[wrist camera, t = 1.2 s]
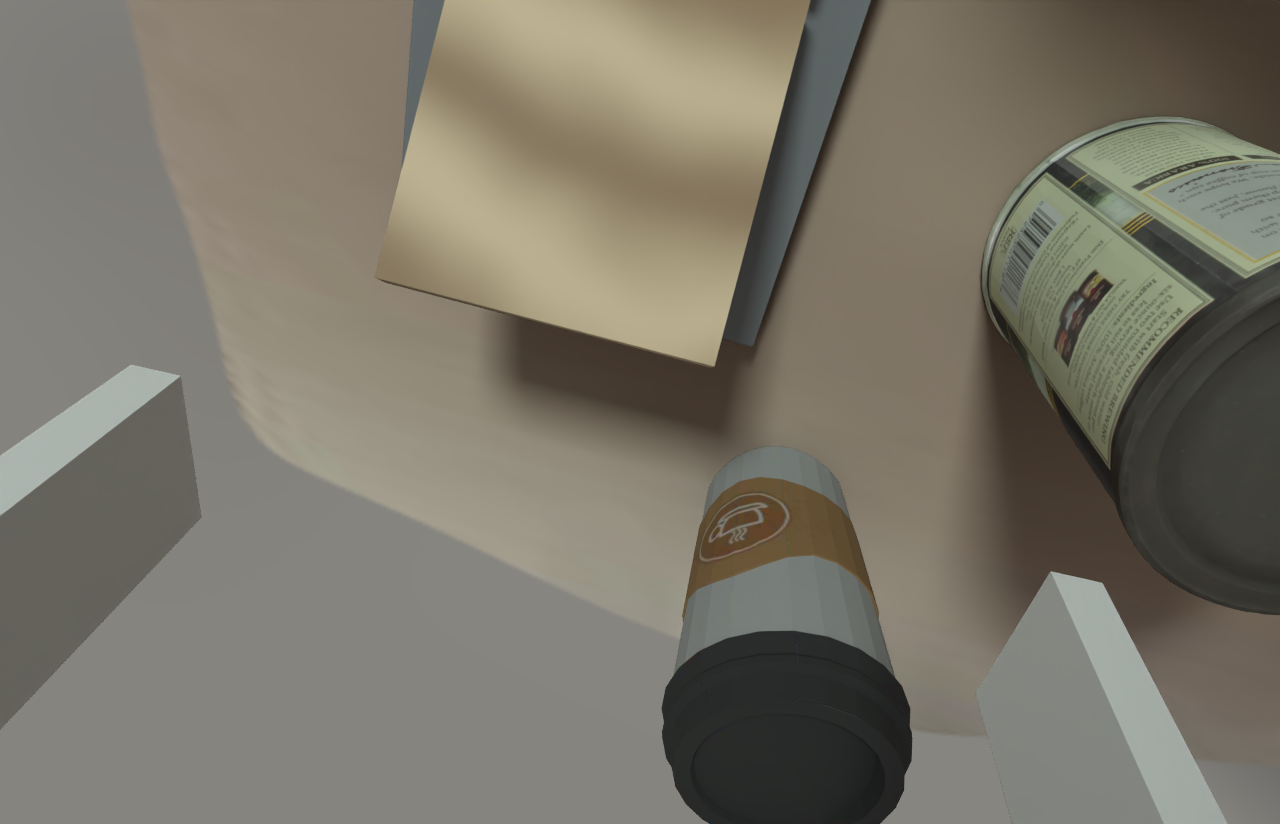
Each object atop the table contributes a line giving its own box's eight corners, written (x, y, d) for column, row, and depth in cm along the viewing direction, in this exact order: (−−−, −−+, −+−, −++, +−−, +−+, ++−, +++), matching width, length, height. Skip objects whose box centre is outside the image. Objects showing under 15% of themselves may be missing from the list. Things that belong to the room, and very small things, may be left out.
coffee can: (1260, 349, 32) (1570, 597, 20) (985, 390, 34) (1114, 636, 22) (1294, 79, 27) (1730, 190, 15) (973, 148, 29) (1128, 293, 17)
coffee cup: (818, 394, 35) (858, 654, 22) (891, 530, 38) (963, 826, 26) (654, 464, 38) (606, 730, 25) (735, 585, 41) (729, 876, 28)
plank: (477, -76, 26) (469, -99, 25) (803, 12, 26) (812, -7, 25) (385, 282, 26) (374, 277, 25) (710, 367, 27) (714, 366, 25)
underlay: (453, -311, 25) (422, -337, 22) (925, -181, 25) (943, -194, 23) (408, 241, 34) (383, 262, 32) (752, 331, 34) (752, 359, 32)
